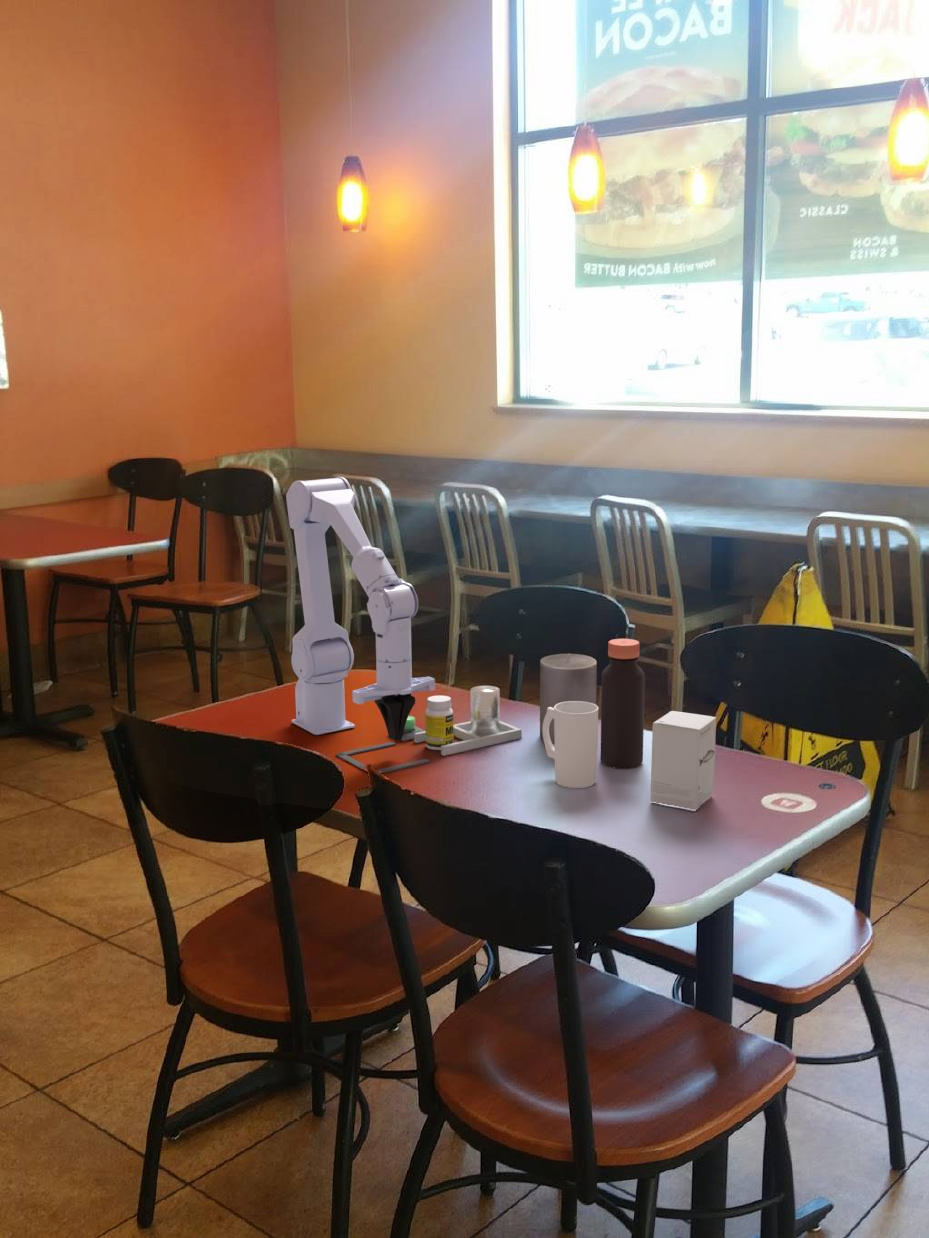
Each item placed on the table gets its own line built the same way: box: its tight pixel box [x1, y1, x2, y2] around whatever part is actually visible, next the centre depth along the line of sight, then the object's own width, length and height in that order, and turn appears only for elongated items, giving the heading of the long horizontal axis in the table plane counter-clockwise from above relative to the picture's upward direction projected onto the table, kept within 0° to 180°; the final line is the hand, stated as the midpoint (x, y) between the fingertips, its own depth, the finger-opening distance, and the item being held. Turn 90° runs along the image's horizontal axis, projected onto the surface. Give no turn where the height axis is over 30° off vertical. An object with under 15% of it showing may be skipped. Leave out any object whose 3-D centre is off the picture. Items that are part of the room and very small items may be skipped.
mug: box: [542, 701, 600, 789], centre depth 191 cm, size 10×7×12 cm, turn 45°
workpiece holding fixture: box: [413, 720, 522, 757], centre depth 211 cm, size 9×16×2 cm, turn 124°
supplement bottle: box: [424, 695, 454, 751], centre depth 207 cm, size 5×5×8 cm
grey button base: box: [400, 725, 425, 742], centre depth 213 cm, size 4×4×1 cm
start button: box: [404, 715, 416, 732], centre depth 213 cm, size 3×3×3 cm
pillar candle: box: [539, 652, 598, 746], centre depth 210 cm, size 10×10×15 cm
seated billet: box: [470, 685, 501, 737], centre depth 212 cm, size 5×5×8 cm
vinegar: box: [600, 638, 646, 769], centre depth 197 cm, size 7×7×20 cm
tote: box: [335, 741, 431, 774], centre depth 202 cm, size 12×11×1 cm
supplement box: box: [649, 710, 717, 809], centre depth 181 cm, size 7×7×13 cm
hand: (395, 738), depth 203 cm, fingers closed
